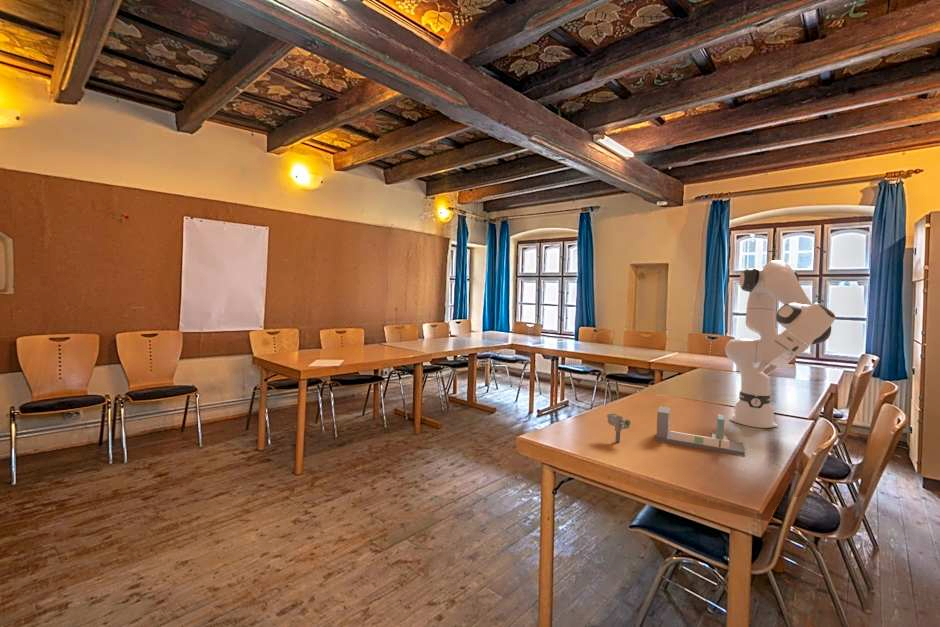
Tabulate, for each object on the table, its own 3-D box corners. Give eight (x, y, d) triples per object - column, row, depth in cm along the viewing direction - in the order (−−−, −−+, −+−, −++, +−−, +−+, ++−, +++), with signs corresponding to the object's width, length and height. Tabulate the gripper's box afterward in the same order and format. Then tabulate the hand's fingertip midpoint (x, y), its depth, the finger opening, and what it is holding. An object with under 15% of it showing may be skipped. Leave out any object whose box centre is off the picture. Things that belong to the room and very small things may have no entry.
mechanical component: (624, 446, 165) (626, 420, 164) (605, 438, 174) (606, 413, 174) (630, 445, 166) (631, 419, 166) (610, 437, 175) (611, 412, 175)
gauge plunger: (711, 438, 172) (713, 413, 172) (726, 440, 170) (727, 415, 170) (712, 446, 163) (713, 419, 163) (727, 448, 161) (729, 422, 161)
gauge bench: (658, 432, 183) (659, 405, 183) (742, 446, 169) (743, 417, 169) (655, 440, 173) (657, 412, 172) (744, 456, 159) (746, 425, 158)
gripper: (789, 342, 163) (761, 369, 168) (775, 334, 150) (745, 363, 154) (805, 353, 159) (776, 380, 164) (792, 346, 145) (761, 376, 150)
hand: (761, 372), depth 159 cm, fingers open, 8 cm apart
